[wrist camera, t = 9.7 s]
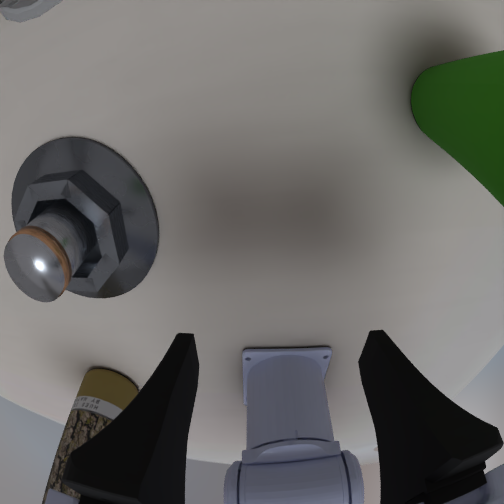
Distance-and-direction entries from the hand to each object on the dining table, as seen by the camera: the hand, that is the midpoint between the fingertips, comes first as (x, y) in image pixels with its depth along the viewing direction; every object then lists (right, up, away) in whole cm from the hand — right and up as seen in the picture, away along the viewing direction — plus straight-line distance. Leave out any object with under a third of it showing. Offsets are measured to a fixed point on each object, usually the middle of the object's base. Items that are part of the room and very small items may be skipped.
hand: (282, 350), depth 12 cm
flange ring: (-14, +6, +8) cm, 17 cm away
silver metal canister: (-14, +6, +7) cm, 17 cm away
